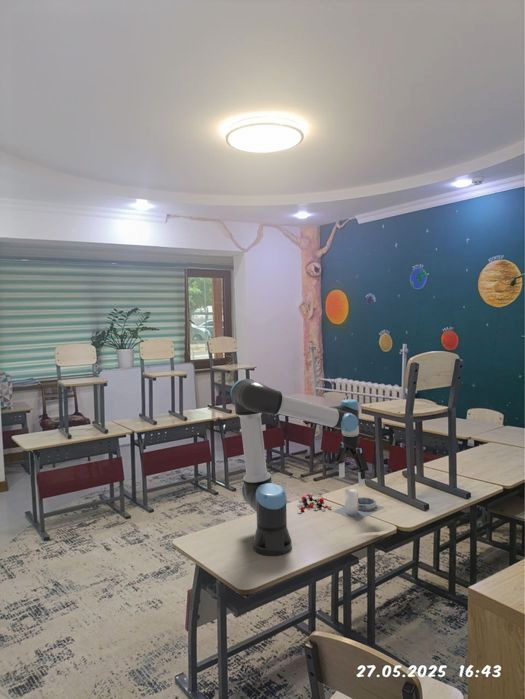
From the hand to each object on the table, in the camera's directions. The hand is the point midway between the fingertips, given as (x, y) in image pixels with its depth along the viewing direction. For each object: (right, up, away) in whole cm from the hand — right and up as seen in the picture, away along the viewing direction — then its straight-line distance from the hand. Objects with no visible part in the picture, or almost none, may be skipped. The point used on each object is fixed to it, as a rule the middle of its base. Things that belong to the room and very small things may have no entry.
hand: (351, 481), depth 218 cm
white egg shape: (0, -14, +1) cm, 14 cm away
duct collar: (+7, -14, +8) cm, 17 cm away
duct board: (+4, -15, +5) cm, 16 cm away
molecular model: (-16, -16, +11) cm, 25 cm away
